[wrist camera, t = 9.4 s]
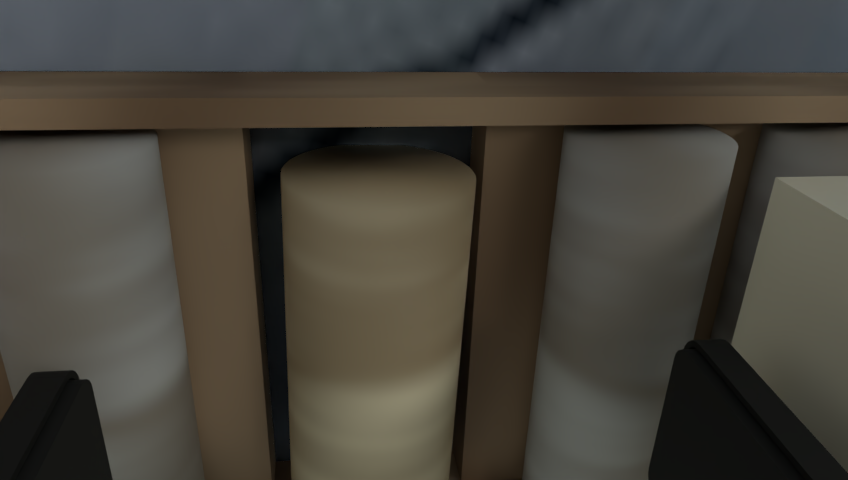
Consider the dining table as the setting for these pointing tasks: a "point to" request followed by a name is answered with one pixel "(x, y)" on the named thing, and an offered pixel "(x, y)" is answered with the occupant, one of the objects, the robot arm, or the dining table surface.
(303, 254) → the roller
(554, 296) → the track
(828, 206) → the slab
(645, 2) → the dining table surface
